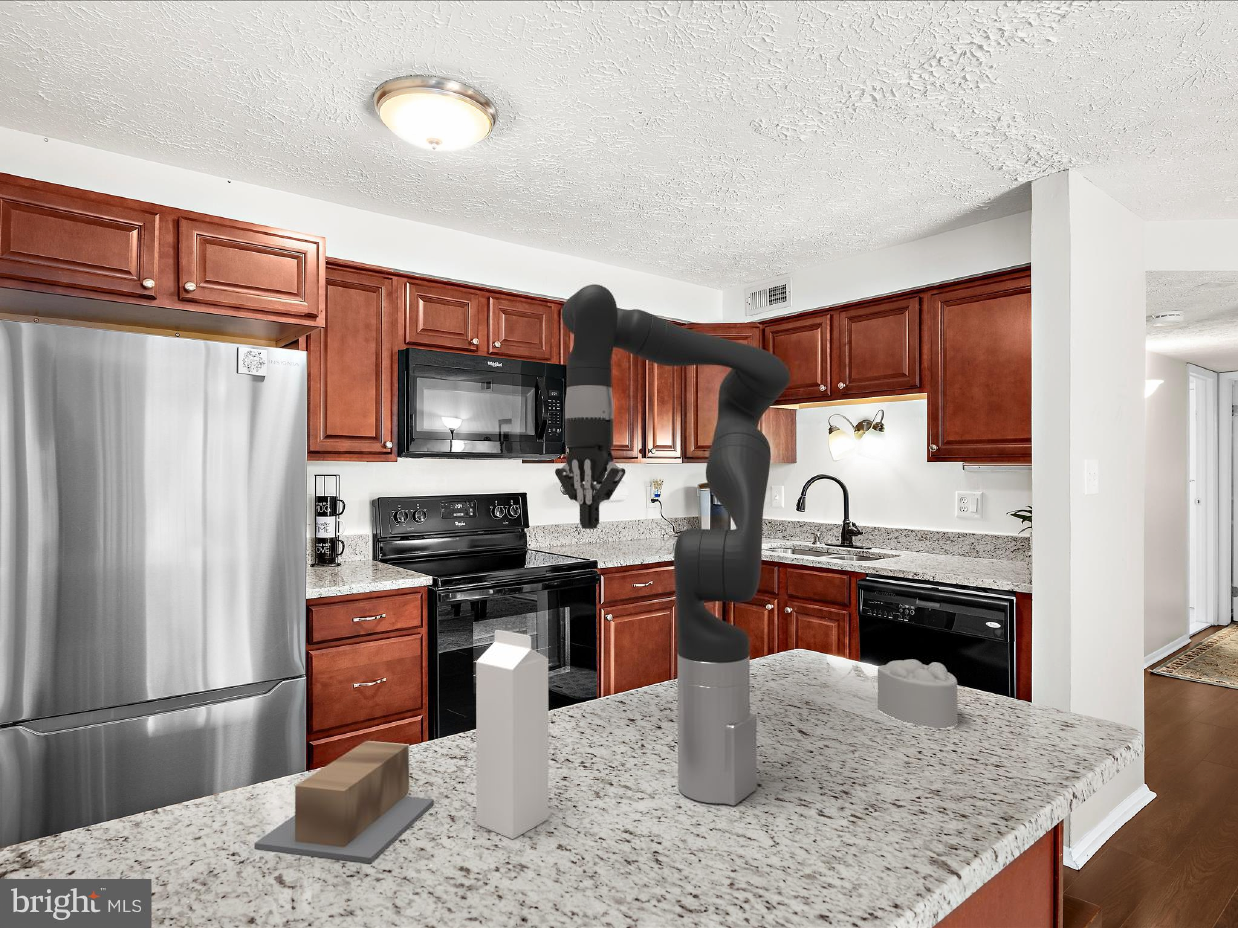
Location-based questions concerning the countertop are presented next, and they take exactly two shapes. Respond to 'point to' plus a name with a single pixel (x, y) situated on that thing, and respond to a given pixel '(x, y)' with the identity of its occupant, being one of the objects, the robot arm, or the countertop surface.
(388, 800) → the light wood block
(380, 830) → the mat
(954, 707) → the lumpy-topped squat cylinder
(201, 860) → the countertop surface
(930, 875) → the countertop surface
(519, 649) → the milk
